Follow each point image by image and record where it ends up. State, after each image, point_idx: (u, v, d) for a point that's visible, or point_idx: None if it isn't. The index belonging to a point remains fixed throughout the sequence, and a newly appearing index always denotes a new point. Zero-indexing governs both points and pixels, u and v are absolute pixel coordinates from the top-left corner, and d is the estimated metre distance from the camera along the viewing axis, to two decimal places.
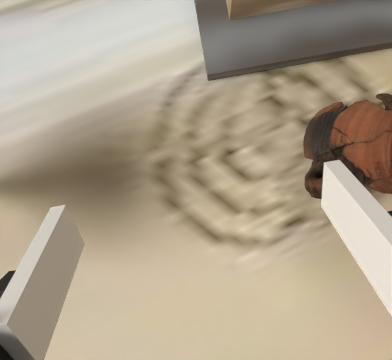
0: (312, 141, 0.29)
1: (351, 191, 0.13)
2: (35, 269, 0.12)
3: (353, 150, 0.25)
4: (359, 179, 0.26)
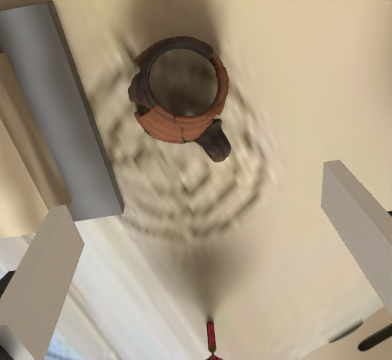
0: None
1: (351, 191, 0.13)
2: (35, 269, 0.12)
3: (189, 137, 0.28)
4: (215, 126, 0.28)
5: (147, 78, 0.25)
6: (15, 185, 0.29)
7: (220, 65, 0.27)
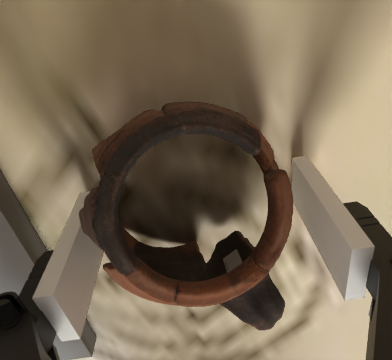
0: None
1: (312, 184, 0.14)
2: (72, 247, 0.13)
3: None
4: None
5: (113, 212, 0.11)
6: None
7: (271, 159, 0.13)
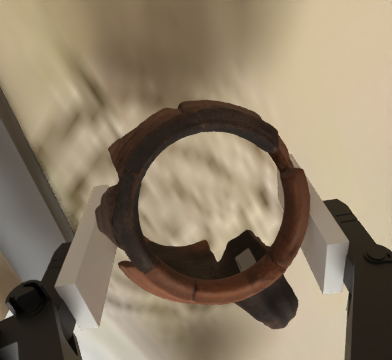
0: None
1: None
2: (90, 239, 0.13)
3: None
4: None
5: (133, 209, 0.11)
6: None
7: (287, 157, 0.13)
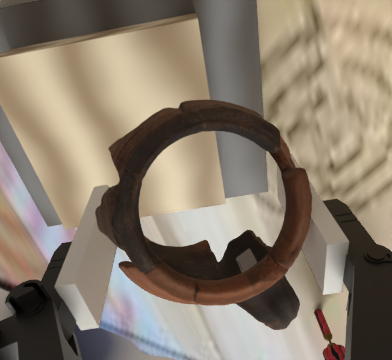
0: None
1: None
2: (90, 239, 0.13)
3: None
4: None
5: (133, 210, 0.11)
6: (198, 154, 0.27)
7: (288, 157, 0.13)
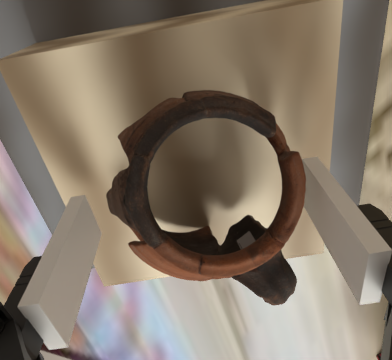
0: None
1: (325, 186, 0.14)
2: (61, 254, 0.13)
3: (224, 277, 0.15)
4: None
5: (143, 189, 0.12)
6: None
7: (284, 142, 0.14)
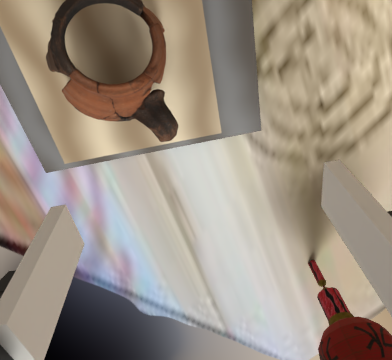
0: None
1: (351, 191, 0.13)
2: (35, 269, 0.12)
3: (123, 111, 0.23)
4: (154, 98, 0.24)
5: (60, 38, 0.20)
6: (193, 79, 0.28)
7: (156, 23, 0.23)
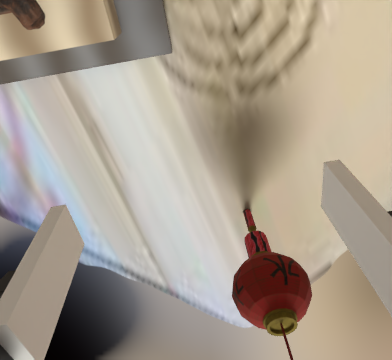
0: None
1: (351, 191, 0.13)
2: (35, 269, 0.12)
3: None
4: None
5: None
6: None
7: None
